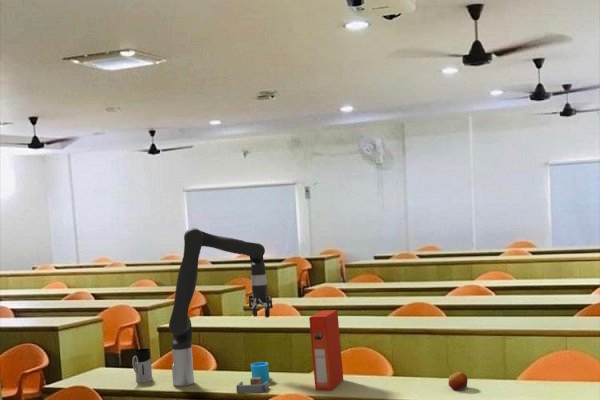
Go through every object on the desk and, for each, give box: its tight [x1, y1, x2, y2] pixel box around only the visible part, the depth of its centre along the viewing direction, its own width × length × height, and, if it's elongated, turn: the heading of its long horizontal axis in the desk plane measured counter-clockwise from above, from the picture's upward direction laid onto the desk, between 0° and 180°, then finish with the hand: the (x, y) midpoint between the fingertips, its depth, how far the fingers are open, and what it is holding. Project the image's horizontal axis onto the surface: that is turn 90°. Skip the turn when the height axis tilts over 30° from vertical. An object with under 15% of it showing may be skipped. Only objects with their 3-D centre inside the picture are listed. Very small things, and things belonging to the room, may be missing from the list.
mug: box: [250, 361, 270, 384], centre depth 308 cm, size 12×8×8 cm
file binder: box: [308, 309, 344, 391], centre depth 291 cm, size 8×17×32 cm, turn 160°
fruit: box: [448, 371, 469, 391], centre depth 270 cm, size 8×8×8 cm
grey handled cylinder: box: [131, 348, 154, 383], centre depth 323 cm, size 9×14×15 cm, turn 166°
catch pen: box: [235, 381, 270, 393], centre depth 292 cm, size 13×6×3 cm, turn 79°
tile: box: [249, 376, 262, 385], centre depth 297 cm, size 4×4×4 cm
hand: (261, 316), depth 319 cm, fingers open, 8 cm apart
